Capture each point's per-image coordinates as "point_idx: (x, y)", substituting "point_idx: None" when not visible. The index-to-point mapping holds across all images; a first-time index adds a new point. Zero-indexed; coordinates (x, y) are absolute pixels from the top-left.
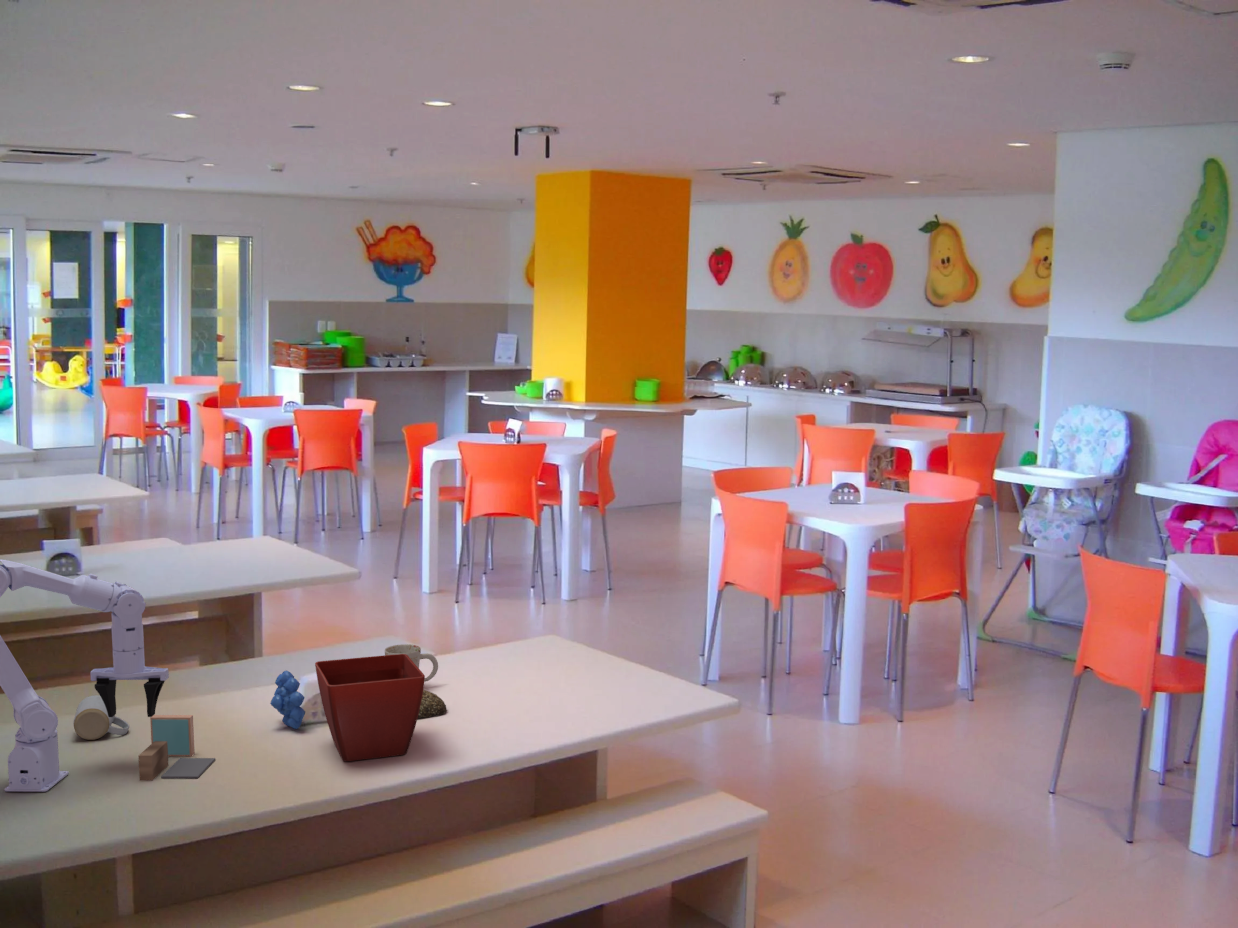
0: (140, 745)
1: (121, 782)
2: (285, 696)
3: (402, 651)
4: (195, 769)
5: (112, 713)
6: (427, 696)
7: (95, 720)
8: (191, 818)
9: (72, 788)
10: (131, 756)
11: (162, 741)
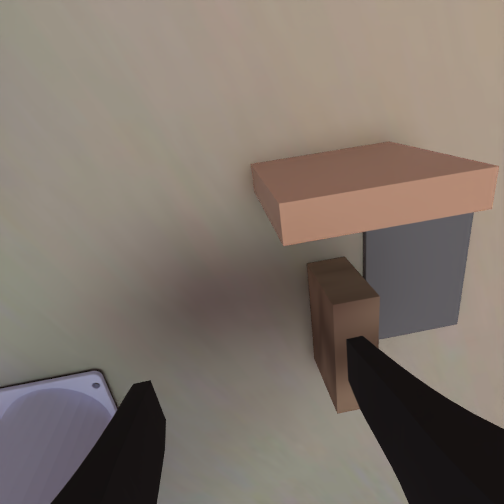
0: (143, 87)
1: (276, 378)
2: None
3: None
4: (439, 284)
5: (160, 427)
6: None
7: None
8: None
9: (181, 427)
10: (186, 209)
11: (362, 301)
